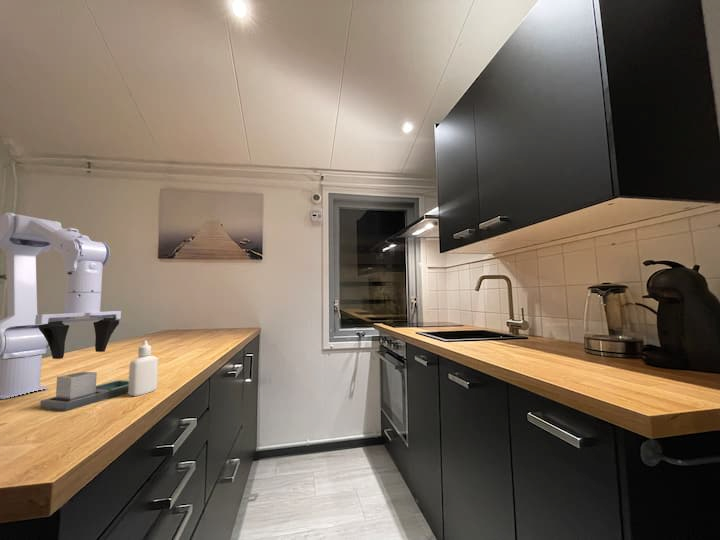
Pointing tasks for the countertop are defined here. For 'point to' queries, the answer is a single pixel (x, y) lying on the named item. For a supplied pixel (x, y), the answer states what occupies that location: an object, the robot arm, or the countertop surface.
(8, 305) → the robot arm
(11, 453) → the countertop surface
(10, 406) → the countertop surface
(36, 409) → the countertop surface
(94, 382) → the block
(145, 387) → the eye dropper bottle
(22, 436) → the countertop surface
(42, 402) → the grey flat frame
